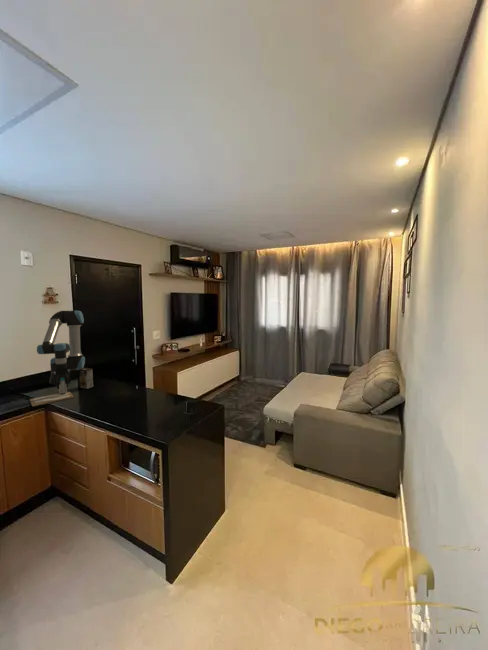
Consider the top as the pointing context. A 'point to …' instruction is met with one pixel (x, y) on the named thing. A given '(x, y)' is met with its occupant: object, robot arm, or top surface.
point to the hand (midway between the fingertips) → (62, 392)
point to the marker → (62, 386)
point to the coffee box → (86, 378)
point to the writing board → (50, 399)
